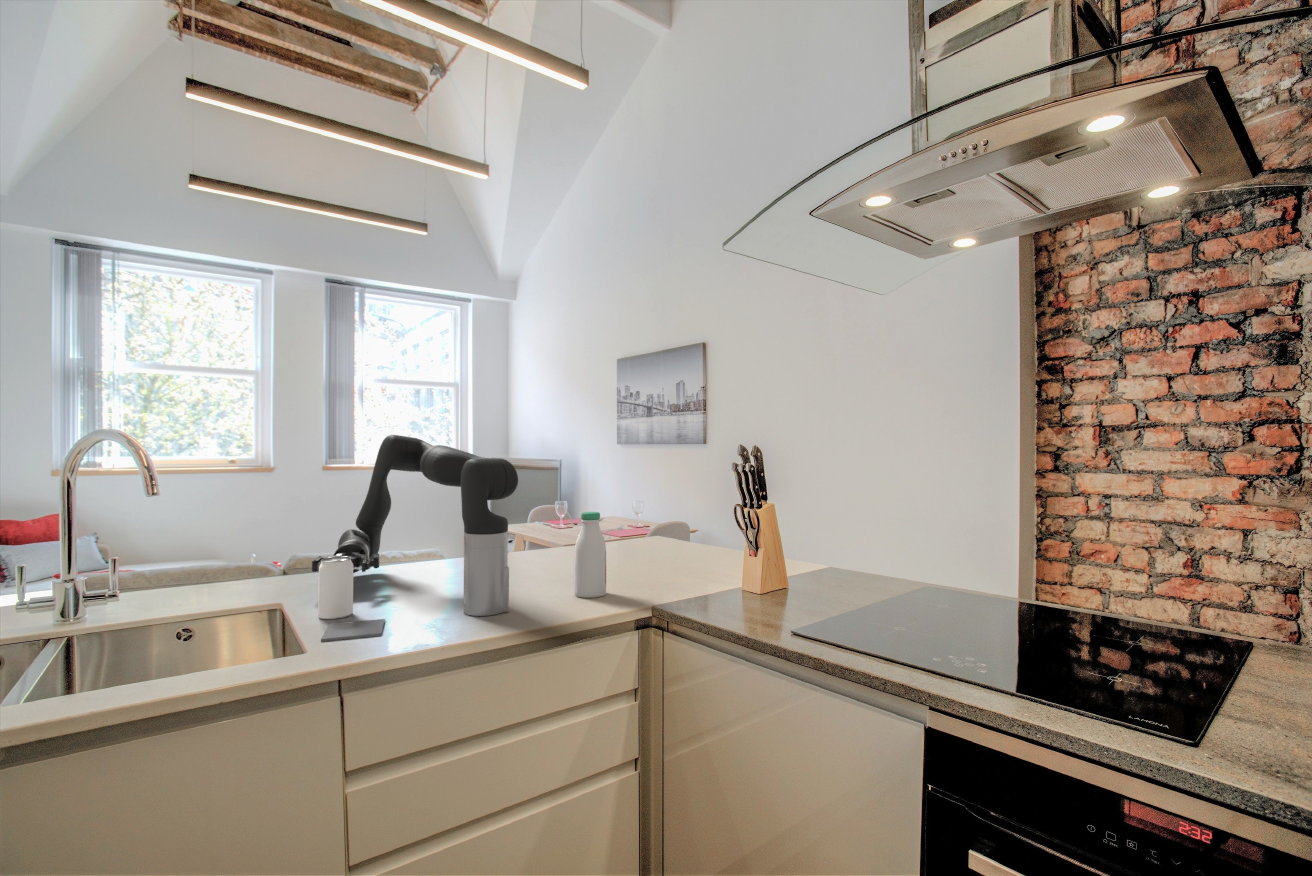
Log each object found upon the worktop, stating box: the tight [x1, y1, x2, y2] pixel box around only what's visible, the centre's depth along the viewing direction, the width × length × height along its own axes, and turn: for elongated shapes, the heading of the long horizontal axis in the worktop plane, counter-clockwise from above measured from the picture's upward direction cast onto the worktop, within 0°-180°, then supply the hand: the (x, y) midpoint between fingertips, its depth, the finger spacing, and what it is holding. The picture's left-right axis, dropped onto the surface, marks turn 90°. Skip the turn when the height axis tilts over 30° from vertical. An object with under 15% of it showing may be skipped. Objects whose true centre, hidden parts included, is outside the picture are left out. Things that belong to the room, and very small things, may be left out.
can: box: [317, 556, 354, 620], centre depth 125 cm, size 6×6×12 cm
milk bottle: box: [573, 511, 607, 599], centre depth 144 cm, size 8×8×20 cm
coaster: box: [320, 618, 386, 643], centre depth 115 cm, size 10×10×1 cm
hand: (343, 568), depth 136 cm, fingers open, 8 cm apart
